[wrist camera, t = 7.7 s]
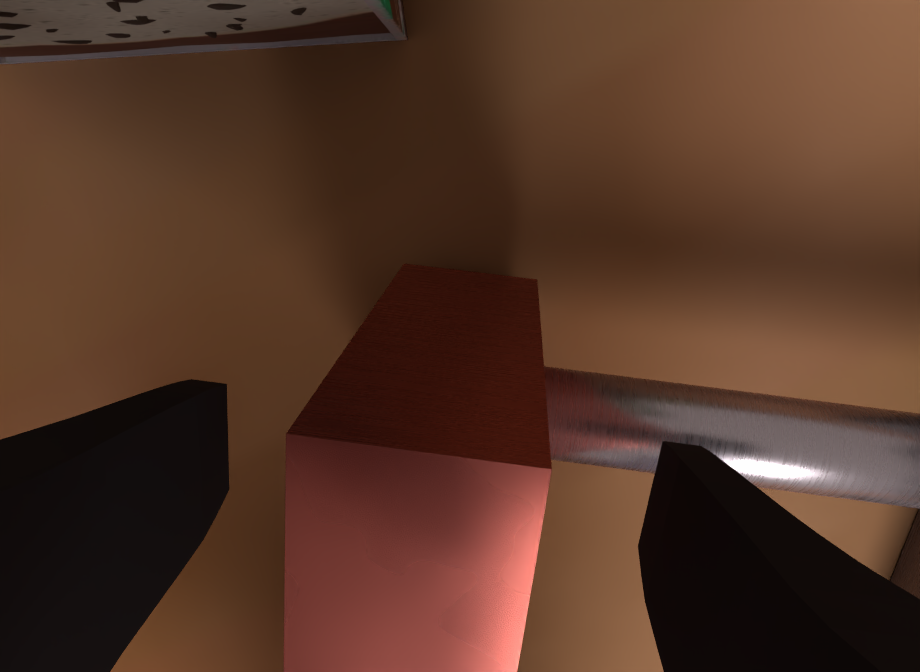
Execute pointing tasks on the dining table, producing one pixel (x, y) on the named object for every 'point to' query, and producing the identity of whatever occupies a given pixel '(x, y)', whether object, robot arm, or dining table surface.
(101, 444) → the robot arm
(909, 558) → the eye bracket
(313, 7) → the food container
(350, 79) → the dining table surface
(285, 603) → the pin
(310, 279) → the dining table surface
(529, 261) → the dining table surface
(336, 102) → the dining table surface
